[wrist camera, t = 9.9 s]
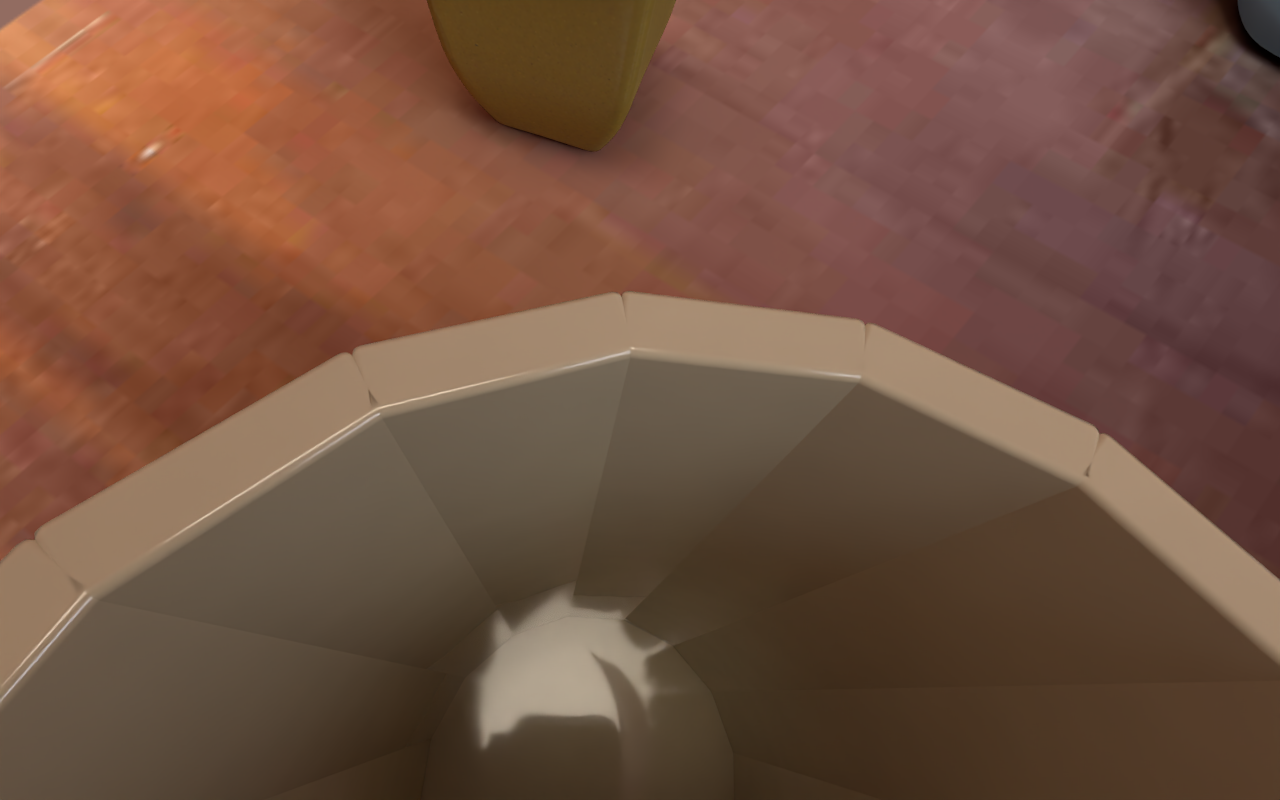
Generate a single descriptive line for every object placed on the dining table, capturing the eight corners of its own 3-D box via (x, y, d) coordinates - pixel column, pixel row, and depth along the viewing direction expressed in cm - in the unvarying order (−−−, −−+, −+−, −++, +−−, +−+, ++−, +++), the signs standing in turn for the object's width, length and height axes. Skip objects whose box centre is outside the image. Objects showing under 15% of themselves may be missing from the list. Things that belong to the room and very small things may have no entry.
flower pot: (509, 24, 31) (496, -207, 23) (673, 75, 31) (715, -138, 23) (438, 138, 27) (392, -91, 19) (625, 197, 27) (656, -8, 19)
